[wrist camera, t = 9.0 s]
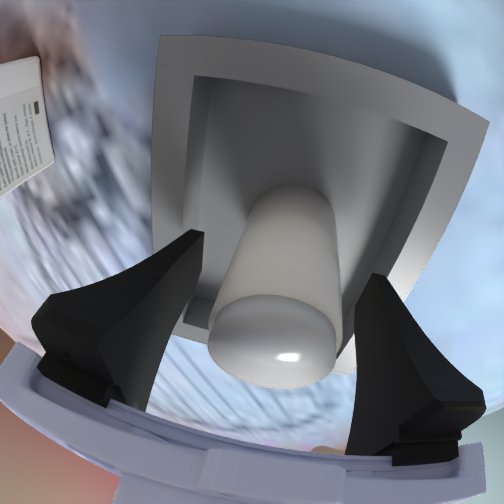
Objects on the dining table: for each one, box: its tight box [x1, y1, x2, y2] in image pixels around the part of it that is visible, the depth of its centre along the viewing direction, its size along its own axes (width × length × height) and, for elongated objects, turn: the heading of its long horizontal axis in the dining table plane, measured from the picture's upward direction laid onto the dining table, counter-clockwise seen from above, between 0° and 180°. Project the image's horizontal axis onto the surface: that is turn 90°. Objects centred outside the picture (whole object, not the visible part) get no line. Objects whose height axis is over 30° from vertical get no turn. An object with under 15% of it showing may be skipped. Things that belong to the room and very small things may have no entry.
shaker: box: [208, 184, 343, 389], centre depth 12 cm, size 4×4×8 cm
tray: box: [151, 35, 490, 375], centre depth 15 cm, size 13×17×3 cm
